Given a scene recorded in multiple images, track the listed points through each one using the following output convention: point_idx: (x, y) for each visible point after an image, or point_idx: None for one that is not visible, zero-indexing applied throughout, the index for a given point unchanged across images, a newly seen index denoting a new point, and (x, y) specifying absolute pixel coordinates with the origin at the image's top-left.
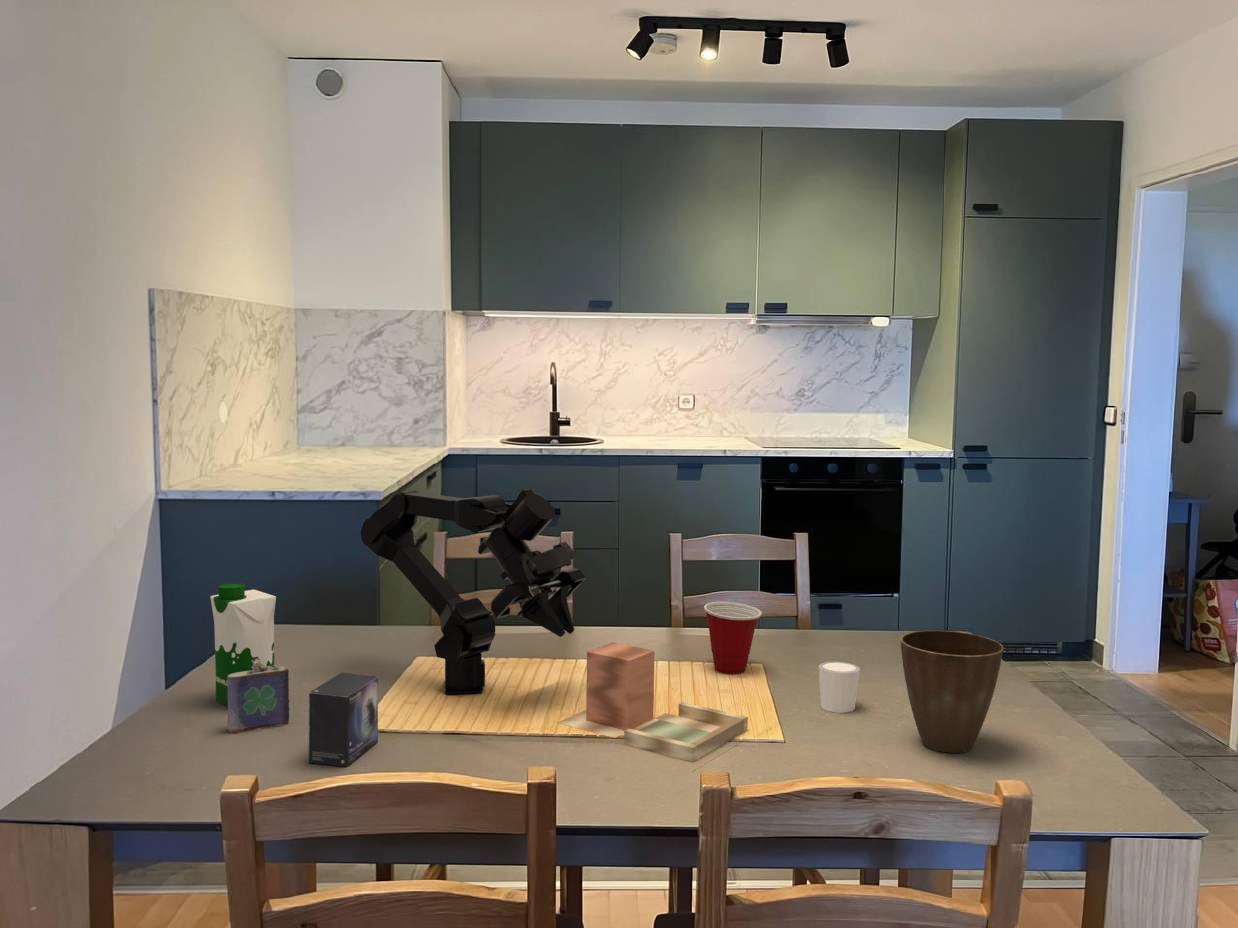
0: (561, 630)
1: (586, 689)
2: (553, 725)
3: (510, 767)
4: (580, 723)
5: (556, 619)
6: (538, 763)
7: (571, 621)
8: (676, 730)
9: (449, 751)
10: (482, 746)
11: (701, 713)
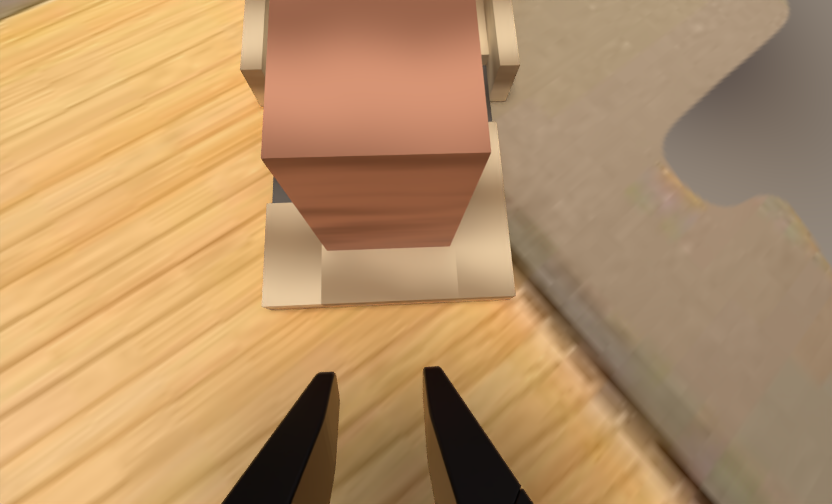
0: (450, 382)
1: (462, 217)
2: (478, 340)
3: (739, 232)
4: (477, 243)
5: (467, 450)
6: (677, 201)
7: (293, 417)
8: None
9: (800, 419)
10: (714, 377)
11: (267, 20)
